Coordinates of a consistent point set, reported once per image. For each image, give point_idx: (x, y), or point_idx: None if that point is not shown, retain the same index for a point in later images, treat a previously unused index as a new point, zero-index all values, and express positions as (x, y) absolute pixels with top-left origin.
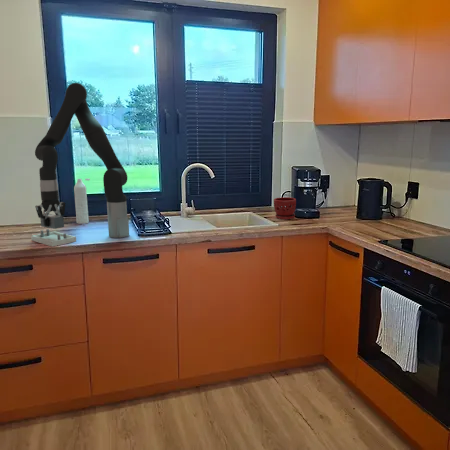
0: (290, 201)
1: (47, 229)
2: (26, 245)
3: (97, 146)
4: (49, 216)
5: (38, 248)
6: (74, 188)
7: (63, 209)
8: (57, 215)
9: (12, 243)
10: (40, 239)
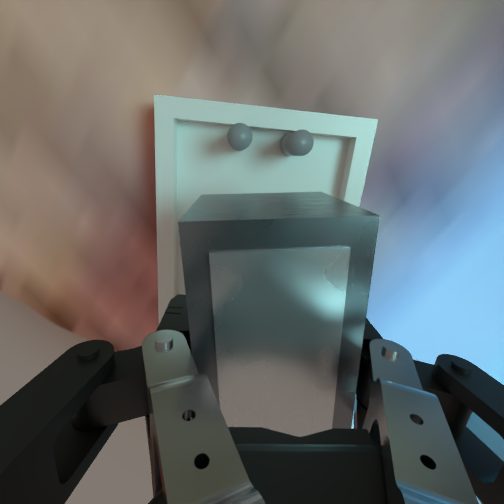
0: None
1: (299, 141)
2: (70, 208)
3: None
4: (229, 397)
5: (94, 328)
6: None
7: (498, 501)
8: (349, 402)
9: (10, 50)
10: (159, 244)
